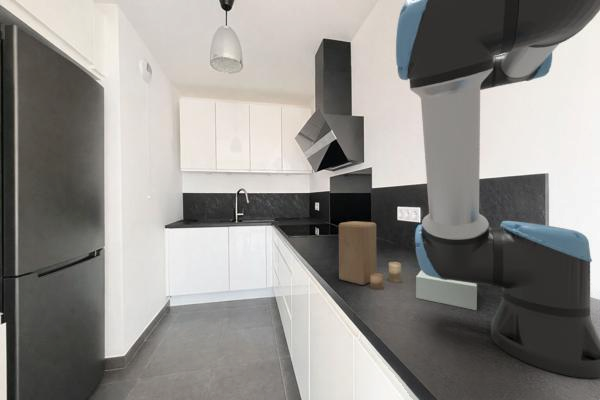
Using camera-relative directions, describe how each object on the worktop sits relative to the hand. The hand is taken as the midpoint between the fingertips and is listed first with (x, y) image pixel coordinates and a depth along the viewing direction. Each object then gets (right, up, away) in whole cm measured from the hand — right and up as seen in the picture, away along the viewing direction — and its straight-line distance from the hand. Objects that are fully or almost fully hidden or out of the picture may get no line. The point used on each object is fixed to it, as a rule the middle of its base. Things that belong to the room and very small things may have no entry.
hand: (460, 190), depth 79 cm
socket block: (-8, -31, -7) cm, 32 cm away
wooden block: (-31, -31, +8) cm, 44 cm away
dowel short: (-26, -31, +1) cm, 41 cm away
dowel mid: (-18, -31, +7) cm, 36 cm away
